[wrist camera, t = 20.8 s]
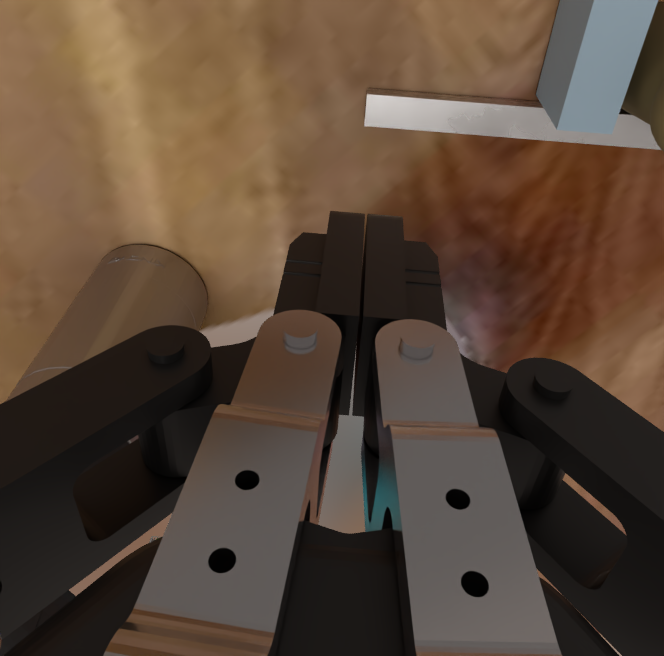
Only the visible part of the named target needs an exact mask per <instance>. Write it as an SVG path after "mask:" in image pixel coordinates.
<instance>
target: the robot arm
mask: <svg viewBox="0 0 664 656" xmlns="http://www.w3.org/2000/svg"><path fill="white" fill-rule="evenodd" d="M364 219H365V214H361V213H349V212H337V211H330V216H329V223H328V229H327V234H317V233H305V232H303V233H302V234H301V235H300V236H299V237H298V238H296V239H295V240H294V241H293V242H292V243H291V244H290V247H289V251H288V255H287V259H286V263H285V268H284V274H283V276H282V280H281V285H280V289H279V293H278V297H277V302H276V306H275V310H274V314H273V316H271V317H270V318H268V319H267V320H266V321H265V322H264V323H263V324H262V325H261V327H260V329H259V332H258V334H257V337H255V338H253V339H251V340H248V341H246V342H243V343H239V344H234V345H227V346H220V347H213V348H211V347H210V343H209V341H208V340H207V338H206V337H205V336H204V335H203V334H202V333H200V332H199V330H200V327H201V325H202V322H203V319H204V317H205V314H206V310H207V305H208V300H207V292H206V289H205V286H204V284H203V282H202V280H201V279H200V277H199V275H198V274H197V273H196V272H195V270H194V269H193V268H192V267H191V266H190V265H189V264H188V263H186V262H185V261H184V260H183V259H181V258H180V257H178V256H176V255H175V254H173V253H171V252H169V251H166V250H164V249H161V248H158V247H154V246H148V245H129V246H124V247H120V248H118V249H116V250H114V251H111V252H110V253H109V254H108V255H106V256H105V257H104V258H103V259H102V261H101V262H100V263H99V265H98V266H97V268H96V269H95V271H94V272H93V274H92V275H91V277H90V278H89V279H88V281H87V282H86V284H85V285H84V287H83V288H82V289H81V291H80V292H79V294H78V295H77V296H76V298H75V299H74V301H73V302H72V304H71V305H70V307H69V308H68V310H67V311H66V313H65V314H64V316H63V317H62V319H61V320H60V322H59V323H58V325H57V326H56V327H55V329H54V330H53V332H52V333H51V335H50V336H49V338H48V339H47V341H46V342H45V344H44V345H43V347H42V348H41V350H40V351H39V353H38V354H37V356H36V357H35V358H34V360H33V361H32V363H31V364H30V366H29V367H28V369H27V370H26V372H25V373H24V375H23V376H22V378H21V379H20V381H19V382H18V384H17V385H16V387H15V388H14V390H13V391H12V393H11V394H10V396H9V397H8V399H7V400H6V402H4V403H2V404H0V656H619V655H618V654H617V653H616V652H615V651H614V650H613V648H612V647H611V646H610V645H609V644H608V643H607V642H606V641H605V640H604V639H603V638H602V637H601V635H600V634H599V633H598V632H597V631H596V630H595V629H594V628H593V627H592V626H591V625H590V624H589V623H588V621H589V622H590V623H591V624H592V625H593V626H594V627H595V628H596V629H597V630H598V631H599V632H600V633H601V634H602V635H603V637H604V638H606V640H607V641H608V642H609V643H610V644H611V645H612V646H613V647H614V648H615V649H616V650H617V651H618V652H619V653H620V654H621V655H622V656H664V432H663V431H661V430H660V429H659V428H657V427H656V426H654V425H653V424H652V423H650V422H649V421H647V420H646V419H645V418H643V417H642V416H640V415H639V414H638V413H636V412H635V411H634V410H632V409H631V408H629V407H628V406H627V405H625V404H624V403H622V402H621V401H620V400H618V399H617V398H615V397H614V396H613V395H611V394H610V393H609V392H607V391H606V390H604V389H603V388H602V387H600V386H599V385H597V384H596V383H595V382H593V381H592V380H590V379H589V378H588V377H586V376H585V375H583V374H582V373H581V372H579V371H578V370H576V369H575V368H573V367H571V366H569V365H567V364H564V363H562V362H559V361H556V360H552V359H546V358H528V359H523V360H521V361H518V362H516V363H515V364H513V365H512V366H511V367H510V369H509V370H508V372H507V373H504V372H501V371H497V370H494V369H491V368H488V367H485V366H482V365H479V364H477V363H475V362H473V361H471V360H469V359H468V358H466V357H464V356H463V355H462V354H461V353H460V352H459V348H458V345H457V342H456V341H455V339H454V338H453V336H452V335H451V334H450V333H449V332H447V328H446V320H445V312H444V304H443V296H442V288H441V280H440V275H439V264H438V257H437V255H436V254H435V253H434V252H433V251H432V249H431V248H430V247H429V246H428V245H427V243H426V242H414V241H404V235H403V217H399V216H387V215H375V214H368V216H367V224H366V234H365V243H364V253H363V238H364ZM362 256H363V263H362ZM356 342H357V343H356ZM355 351H356V362H355V379H354V397H353V414H352V415H353V416H364V430H363V438H362V446H361V464H362V482H363V499H364V516H365V532H361V533H354V534H347V533H341V532H338V531H335V530H332V529H329V528H326V527H322V526H320V525H318V523H319V517H320V512H321V506H322V501H323V496H324V490H325V485H326V480H327V474H328V469H329V463H330V458H331V453H332V443H333V439H334V438H335V436H336V434H337V429H338V418H339V415H349V408H350V399H351V389H352V380H353V370H354V361H355ZM565 473H566V474H568V475H569V476H570V477H571V478H572V479H573V480H575V481H576V482H577V483H578V484H579V485H580V486H582V487H583V488H584V489H585V490H586V491H587V492H588V493H590V494H591V495H592V496H593V497H594V498H595V499H597V500H598V501H599V502H600V503H601V504H602V505H604V506H605V507H606V508H607V509H608V510H609V511H611V512H612V513H613V514H614V515H615V516H616V517H617V518H618V520H619V521H620V522H621V524H622V525H623V527H624V529H625V532H626V535H627V536H626V535H625V534H624V533H623V532H622V531H621V530H619V529H618V528H617V527H616V526H615V525H614V524H612V523H611V522H610V521H609V520H608V519H607V518H606V517H604V516H603V515H602V514H601V513H600V512H599V511H598V510H596V509H595V508H594V507H593V506H592V505H591V504H590V503H588V502H587V501H586V500H585V499H584V498H583V497H582V496H580V495H579V494H578V493H577V492H576V491H575V490H574V489H572V488H571V487H570V486H569V485H568V484H567V483H566V482H564V481H563V480H562V479H563V477H564V475H565ZM172 512H173V513H172ZM171 513H172V516H171V518H170V521H169V523H168V526H167V528H166V531H165V533H164V536H163V537H161V538H158V539H156V540H154V541H152V542H150V543H148V544H146V545H144V546H142V547H141V548H139V549H137V550H136V551H134V552H133V553H131V554H129V555H128V556H126V557H125V558H124V559H122V560H121V561H120V562H118V563H117V564H116V565H114V566H113V567H112V568H111V569H110V570H108V571H107V572H106V573H105V574H103V575H102V576H101V577H100V578H98V579H97V580H96V581H95V582H93V583H92V584H91V585H90V586H88V587H87V588H86V589H85V590H83V591H82V592H81V593H80V594H78V595H77V596H75V595H74V594H72V593H71V592H70V591H69V589H70V588H72V587H73V586H74V585H76V584H77V583H78V582H80V581H81V580H83V579H84V578H85V577H86V576H88V575H89V574H91V573H92V572H93V571H95V570H96V569H97V568H99V567H100V566H101V565H103V564H104V563H105V562H107V561H108V560H109V559H111V558H112V557H113V556H115V555H116V554H117V553H118V552H120V551H121V550H122V549H124V548H125V547H126V546H128V545H129V544H131V543H132V542H133V541H135V540H136V539H137V538H139V537H140V536H141V535H143V534H144V533H145V532H147V531H148V530H149V529H151V528H152V527H154V526H155V525H156V524H158V523H159V522H160V521H161V520H163V519H164V518H166V517H167V516H168V515H170V514H171ZM536 568H537V569H538V570H539V571H540V572H541V573H542V574H543V575H544V576H545V577H546V578H547V579H548V580H549V581H550V582H551V583H552V585H553V586H554V587H555V588H556V589H557V590H558V591H559V592H560V593H561V594H562V595H561V594H560V593H559V592H558V591H557V590H556V589H554V588H553V587H552V586H551V585H550V584H548V583H547V582H546V581H544V580H543V579H542V578H540V577H539V576H538V573H537V569H536ZM575 608H576V609H577V610H578V611H579V612H580V613H581V614H582V615H583V616H584V617H585V618H586V619H587V620H588V621H587V620H586V619H585V618H584V617H583V616H582V615H581V614H580V613H579V612H578V611H577V610H576V609H575Z"/></svg>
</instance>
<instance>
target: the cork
mask: <svg viewBox="0 0 664 656" xmlns="http://www.w3.org/2000/svg"><path fill="white" fill-rule="evenodd" d="M621 108H622V109H623V110H625V111H627V112H629V113H630V114H632V115H634V116H635V117H637V118H639V119H641V120H642V121H644V122H646V123H648V124H649V125H650V127H651V132H652V135H653V137H654V139H655V141H656V143H657V145H658V146H659V147H660V148H661V150H663V151H664V2H657V5H656V8H655V11H654V14H653V17H652V20H651V23H650V26H649V28H648V31H647V34H646V37H645V40H644V43H643V46H642V49H641V52H640V54H639V57H638V60H637V63H636V66H635V69H634V72H633V75H632V78H631V80H630V83H629V86H628V89H627V92H626V95H625V98H624V101H623V104H622V106H621Z"/></svg>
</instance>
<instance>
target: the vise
mask: <svg viewBox="0 0 664 656" xmlns="http://www.w3.org/2000/svg"><path fill="white" fill-rule="evenodd" d="M364 126H371V127H383V128H396V129H408V130H421V131H433V132H446V133H458V134H471V135H483V136H496V137H508V138H521V139H533V140H546V141H558V142H571V143H583V144H596V145H608V146H621V147H633V148H646V149H658V150H661V148H660V147H659V146H658V145H657V143H656V141H655V139H654V137H653V135H652V132H651V127H650V125H649V124H648V123H646V122H644V121H642V120H641V119H639V118H637V117H635V116H634V115H632V114H630V113H629V112H627V111H625V110H623V109H622V108H621V109H620V112H619V115H618V118H617V121H616V124H615V127H614V130H613V132H612V134H601V133H588V132H576V131H563V130H556V128H555V126H554V125H553V123H552V121H551V119H550V118H549V116H548V114H547V113H546V111H545V109H544V108H543V106H542V104H541V103H540V102H537V101H525V100H512V99H499V98H487V97H474V96H461V95H449V94H436V93H423V92H411V91H398V90H385V89H372V88H368V89H367V100H366V111H365V123H364Z"/></svg>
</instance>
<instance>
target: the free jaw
mask: <svg viewBox="0 0 664 656" xmlns="http://www.w3.org/2000/svg"><path fill="white" fill-rule="evenodd" d="M657 2H658V0H560V2H559V6H558V10H557V14H556V18H555V22H554V26H553V30H552V33H551V37H550V41H549V45H548V49H547V53H546V57H545V61H544V65H543V68H542V72H541V76H540V80H539V84H538V88H537V92H536V96H537V98H538V99H539V101H540V103H541V104H542V106H543V108H544V109H545V111H546V113H547V114H548V116H549V118H550V119H551V121H552V123H553V125H554V126H555V128H556V130H563V131H576V132H588V133H601V134H612V132H613V130H614V127H615V124H616V121H617V118H618V115H619V112H620V109H621V106H622V104H623V101H624V98H625V95H626V92H627V89H628V86H629V83H630V80H631V78H632V75H633V72H634V69H635V66H636V63H637V60H638V57H639V54H640V52H641V49H642V46H643V43H644V40H645V37H646V34H647V31H648V28H649V26H650V23H651V20H652V17H653V14H654V11H655V8H656V5H657Z"/></svg>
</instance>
